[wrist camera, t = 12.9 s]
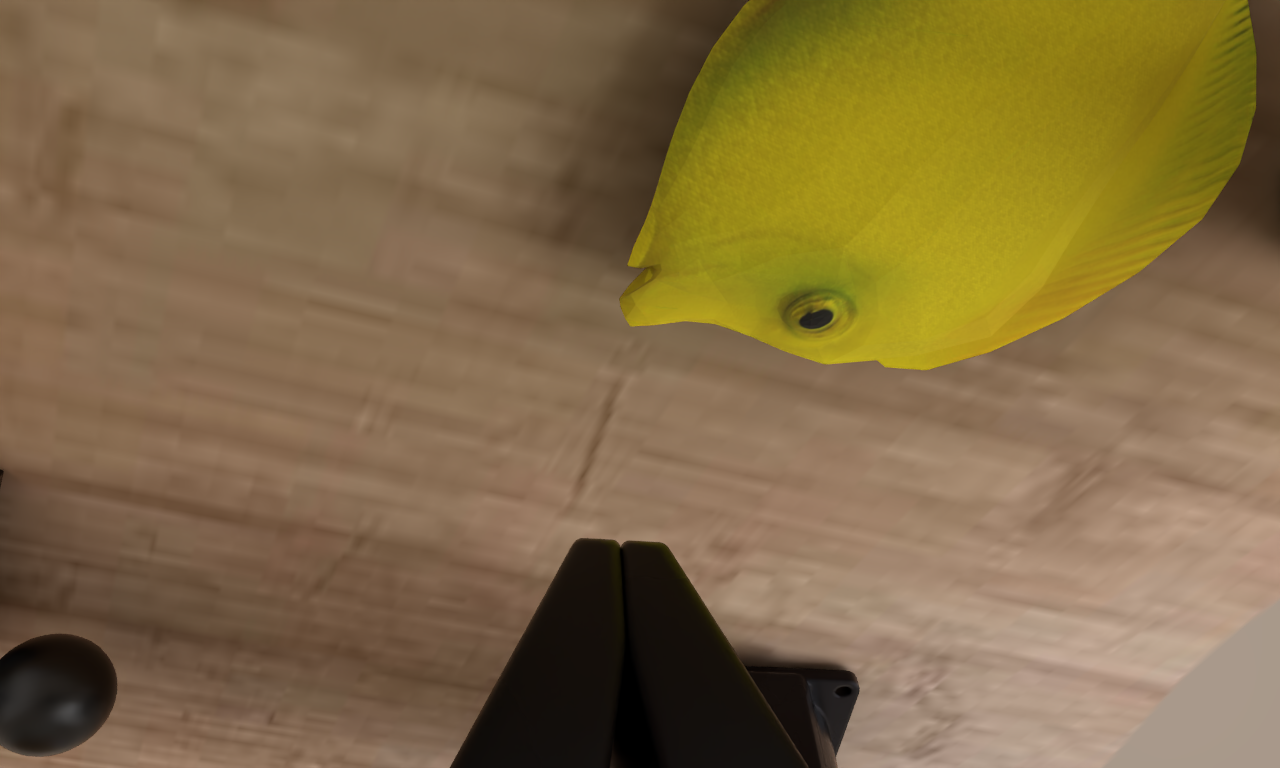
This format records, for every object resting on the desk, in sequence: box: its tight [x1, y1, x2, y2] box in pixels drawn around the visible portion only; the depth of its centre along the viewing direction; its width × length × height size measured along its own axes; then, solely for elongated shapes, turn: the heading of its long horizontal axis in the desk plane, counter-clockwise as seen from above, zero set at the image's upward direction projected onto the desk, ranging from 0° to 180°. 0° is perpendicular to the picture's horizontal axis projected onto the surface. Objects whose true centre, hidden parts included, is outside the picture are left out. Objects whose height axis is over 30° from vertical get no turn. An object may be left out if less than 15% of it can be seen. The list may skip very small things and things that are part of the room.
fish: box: [619, 0, 1256, 370], centre depth 19 cm, size 3×16×10 cm
